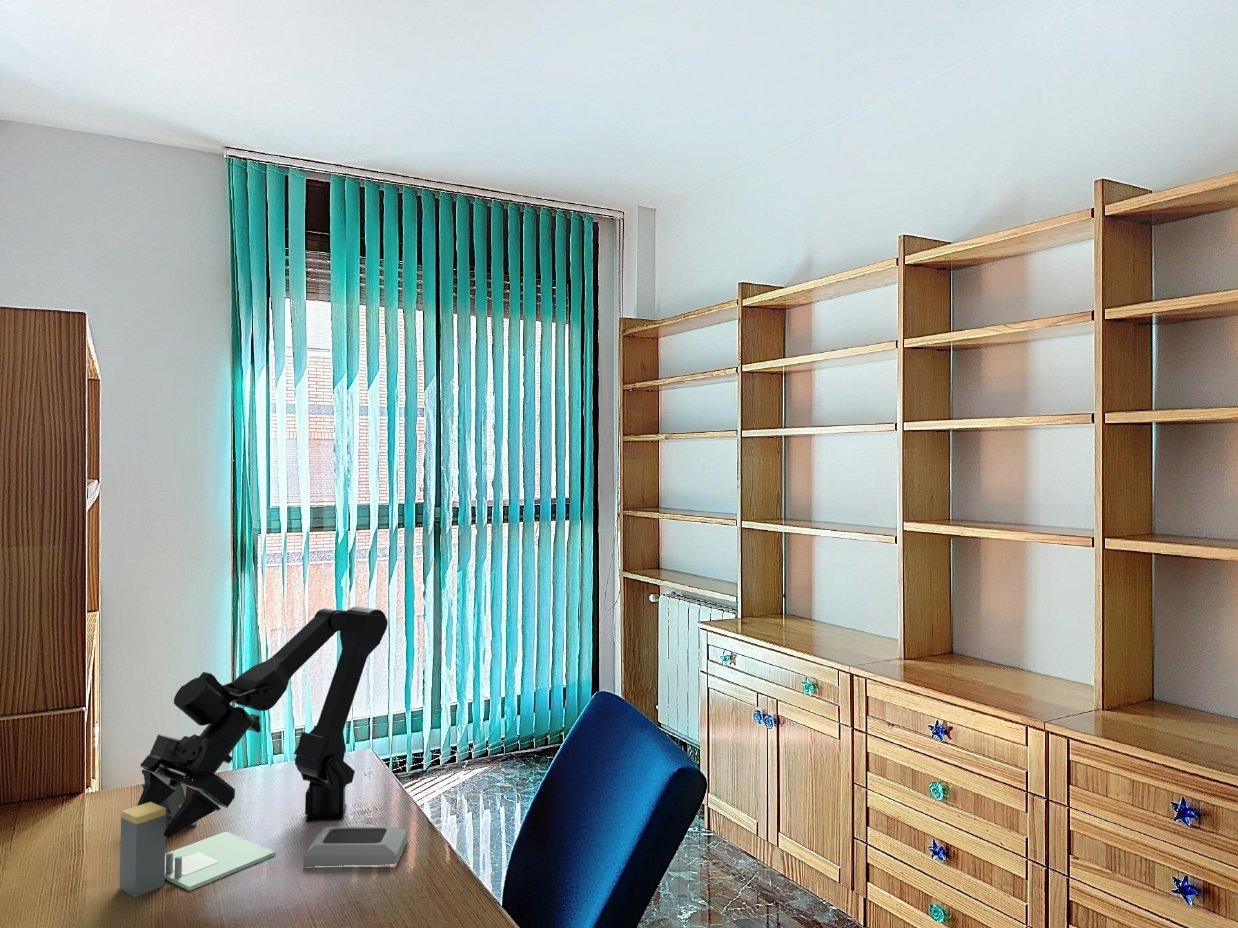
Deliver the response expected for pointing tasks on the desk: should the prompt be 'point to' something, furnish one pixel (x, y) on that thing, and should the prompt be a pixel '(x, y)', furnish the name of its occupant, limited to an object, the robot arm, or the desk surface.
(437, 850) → the desk surface
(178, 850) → the board
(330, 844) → the grey beveled box
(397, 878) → the desk surface
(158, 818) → the plug block
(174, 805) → the electrical switch
